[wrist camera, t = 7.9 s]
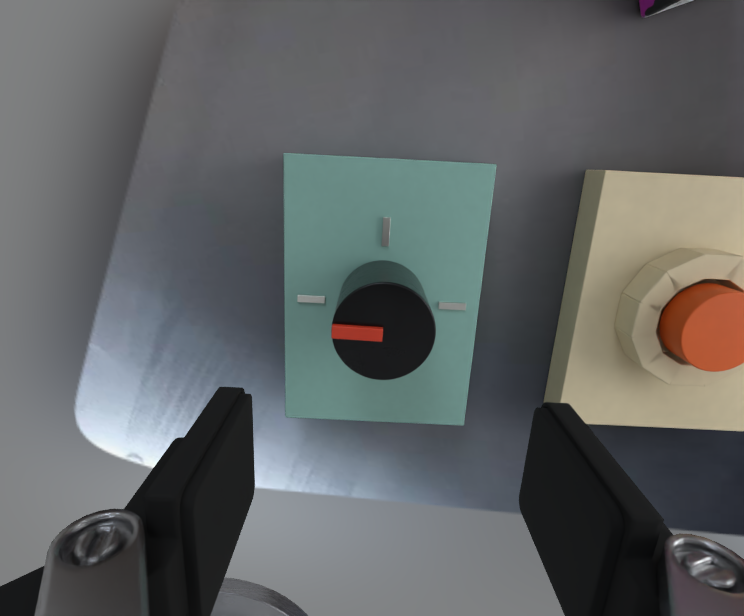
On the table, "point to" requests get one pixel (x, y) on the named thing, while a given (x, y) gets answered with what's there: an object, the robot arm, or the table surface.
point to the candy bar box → (658, 6)
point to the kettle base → (646, 299)
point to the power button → (705, 327)
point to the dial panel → (391, 243)
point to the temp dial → (383, 321)
